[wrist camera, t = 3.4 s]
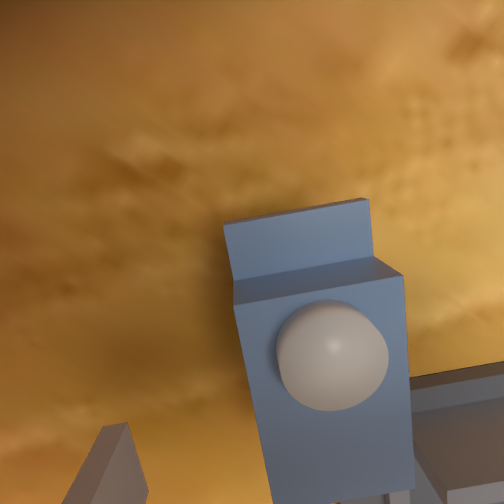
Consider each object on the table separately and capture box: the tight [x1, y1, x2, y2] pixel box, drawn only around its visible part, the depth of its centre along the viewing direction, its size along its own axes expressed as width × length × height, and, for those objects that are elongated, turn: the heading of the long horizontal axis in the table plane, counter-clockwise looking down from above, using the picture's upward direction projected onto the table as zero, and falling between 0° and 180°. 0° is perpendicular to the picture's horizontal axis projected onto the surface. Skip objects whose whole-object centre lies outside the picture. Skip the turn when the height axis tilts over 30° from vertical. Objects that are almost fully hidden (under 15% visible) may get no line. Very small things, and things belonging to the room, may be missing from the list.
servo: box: [223, 198, 416, 504], centre depth 14 cm, size 5×12×9 cm, turn 10°
